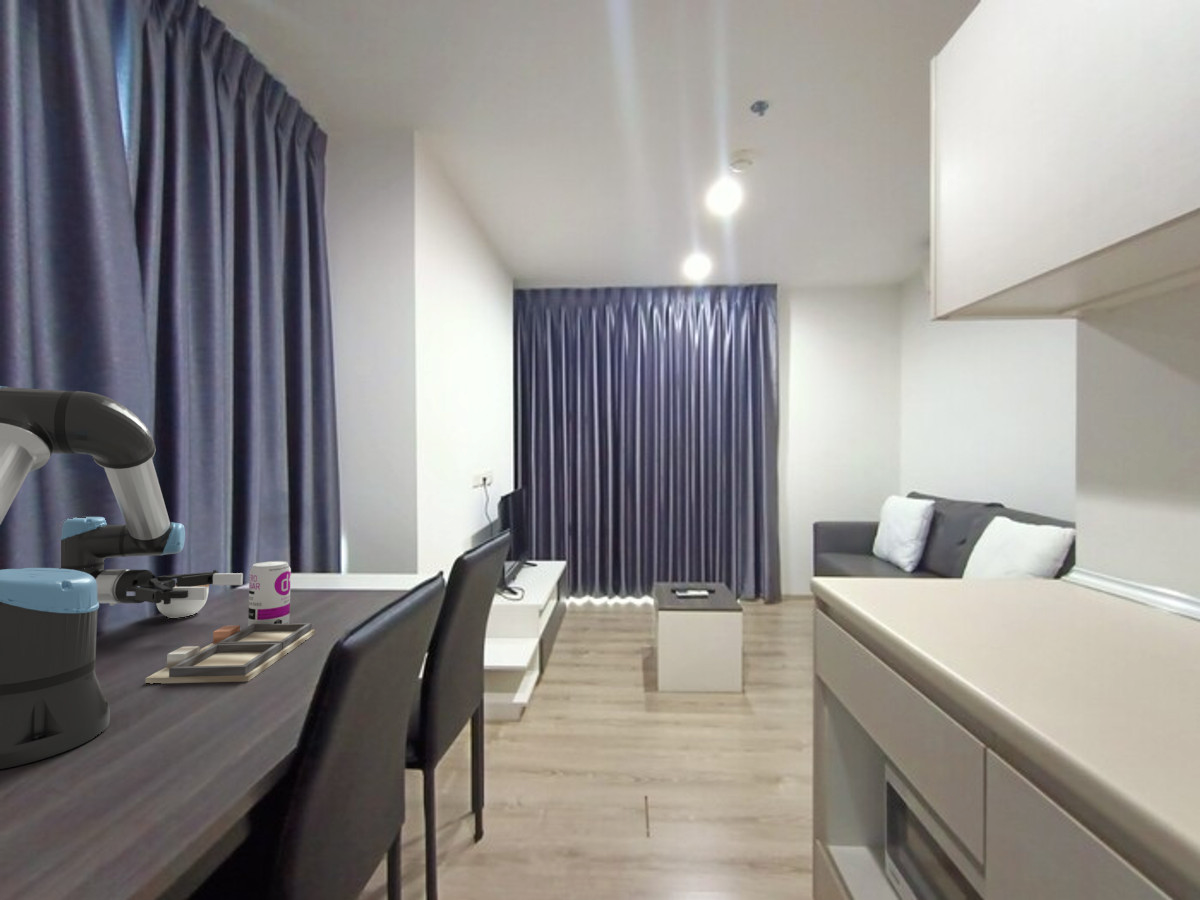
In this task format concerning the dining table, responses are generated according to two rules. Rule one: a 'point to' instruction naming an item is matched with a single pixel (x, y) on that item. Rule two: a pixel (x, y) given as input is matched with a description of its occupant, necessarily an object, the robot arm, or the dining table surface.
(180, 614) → the lidded jar
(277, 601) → the supplement can
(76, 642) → the robot arm
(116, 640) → the dining table surface
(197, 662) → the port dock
